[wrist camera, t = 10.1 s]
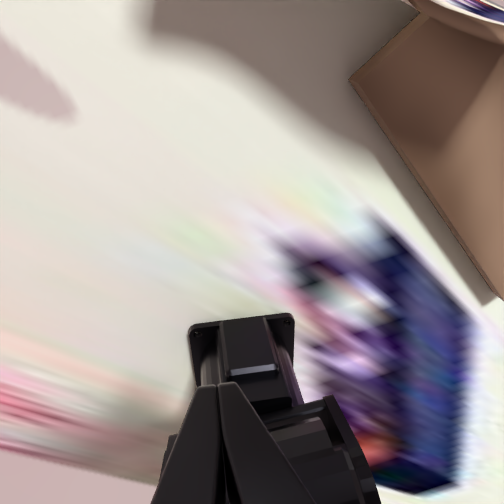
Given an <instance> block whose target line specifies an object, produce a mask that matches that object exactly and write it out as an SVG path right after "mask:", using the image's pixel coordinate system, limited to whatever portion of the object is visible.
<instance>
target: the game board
mask: <svg viewBox="0 0 504 504" xmlns="http://www.w3.org/2000/svg"><path fill="white" fill-rule="evenodd" d="M348 80H349V82H350V83H351V85H352V86H353V87H354V89H355V90H356V92H357V93H358V95H359V96H360V98H361V99H362V101H363V102H364V104H365V105H366V107H367V108H368V109H369V111H370V112H371V114H372V115H373V117H374V118H375V120H376V121H377V123H378V124H379V126H380V127H381V129H382V130H383V131H384V133H385V134H386V136H387V137H388V139H389V140H390V142H391V143H392V145H393V146H394V148H395V149H396V151H397V152H398V153H399V155H400V156H401V158H402V159H403V161H404V162H405V164H406V165H407V167H408V168H409V170H410V171H411V173H412V174H413V175H414V177H415V178H416V180H417V181H418V183H419V184H420V186H421V187H422V189H423V190H424V192H425V193H426V195H427V196H428V197H429V199H430V200H431V202H432V203H433V205H434V206H435V208H436V209H437V211H438V212H439V214H440V215H441V217H442V218H443V219H444V221H445V222H446V224H447V225H448V227H449V228H450V230H451V231H452V233H453V234H454V236H455V237H456V238H457V240H458V241H459V243H460V244H461V246H462V247H463V249H464V250H465V252H466V253H467V255H468V256H469V258H470V259H471V260H472V262H473V263H474V265H475V266H476V268H477V269H478V271H479V272H480V274H481V275H482V277H483V278H484V280H485V281H486V282H487V284H488V285H489V287H490V288H491V290H492V291H493V292H494V293H495V294H496V295H497V296H498V297H499V298H501V299H502V300H503V301H504V46H501V45H498V44H495V43H492V42H489V41H486V40H483V39H480V38H478V37H475V36H472V35H470V34H467V33H465V32H462V31H459V30H457V29H454V28H452V27H450V26H447V25H445V24H443V23H441V22H439V21H437V20H435V19H433V18H431V17H429V16H427V15H425V14H423V13H419V14H418V15H417V16H416V17H415V18H414V19H413V20H412V21H411V22H410V23H409V24H408V25H407V26H405V27H404V28H403V29H402V30H401V31H400V32H399V33H398V34H397V35H396V36H395V37H394V38H392V39H391V40H390V41H389V42H388V43H387V44H386V45H385V46H384V47H383V48H382V49H381V50H379V51H378V52H377V53H376V54H375V55H374V56H373V57H372V58H371V59H370V60H369V61H368V62H366V63H365V64H364V65H363V66H362V67H361V68H360V69H359V70H358V71H357V72H356V73H355V74H353V75H352V76H351V77H350V78H349V79H348Z"/></svg>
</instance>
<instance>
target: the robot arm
mask: <svg viewBox="0 0 504 504" xmlns="http://www.w3.org/2000/svg"><path fill="white" fill-rule="evenodd" d="M285 320H288V321H287V322H284V321H285ZM294 328H295V321H294V318H293V316H292V315H291V314H290V313H280V314H272V315H264V316H256V317H248V318H240V319H232V320H224V321H215V322H207V323H199V324H194V325H192V326H191V327H190V329H189V338H190V344H191V351H192V358H193V365H194V371H195V378H196V385H197V389H196V390H195V393H194V395H193V398H192V400H191V403H190V405H189V408H188V410H187V413H186V416H185V418H184V421H183V423H182V426H181V428H180V431H179V433H178V434H174V435H170V436H169V440H168V445H167V450H166V451H165V454H164V459H163V464H162V469H161V475H160V480H159V484H158V486H157V489H156V491H155V494H154V496H153V499H152V501H151V504H381V501H380V498H379V494H378V491H377V488H376V485H375V482H374V479H373V476H372V473H371V470H370V468H369V465H368V463H367V460H366V458H365V455H364V453H363V451H362V449H361V447H360V445H359V443H358V441H357V439H356V437H355V436H354V434H353V432H352V430H351V428H350V426H349V424H348V422H347V420H346V418H345V417H344V415H343V413H342V411H341V409H340V407H339V405H338V403H337V401H336V400H335V398H334V396H333V395H329V396H325V397H323V399H320V400H316V401H312V402H309V403H305V404H304V401H303V398H302V395H301V392H300V388H299V385H298V382H297V379H296V376H295V373H294V370H293V357H294ZM197 331H199V332H200V333H195V332H197Z"/></svg>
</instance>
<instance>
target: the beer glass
mask: <svg viewBox="0 0 504 504" xmlns="http://www.w3.org/2000/svg"><path fill="white" fill-rule="evenodd" d="M402 1H403V2H405V3H406V4H408V5H410V6H411V7H413V8H414V9H416V10H417V11H419V12H421V13H423V14H425V15H427V16H429V17H431V18H433V19H435V20H437V21H439V22H441V23H443V24H445V25H447V26H450V27H452V28H454V29H457V30H459V31H462V32H465V33H467V34H470V35H472V36H475V37H478V38H480V39H483V40H486V41H489V42H492V43H495V44H498V45H501V46H504V0H402Z"/></svg>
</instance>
